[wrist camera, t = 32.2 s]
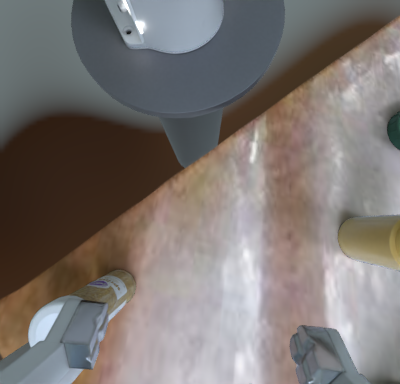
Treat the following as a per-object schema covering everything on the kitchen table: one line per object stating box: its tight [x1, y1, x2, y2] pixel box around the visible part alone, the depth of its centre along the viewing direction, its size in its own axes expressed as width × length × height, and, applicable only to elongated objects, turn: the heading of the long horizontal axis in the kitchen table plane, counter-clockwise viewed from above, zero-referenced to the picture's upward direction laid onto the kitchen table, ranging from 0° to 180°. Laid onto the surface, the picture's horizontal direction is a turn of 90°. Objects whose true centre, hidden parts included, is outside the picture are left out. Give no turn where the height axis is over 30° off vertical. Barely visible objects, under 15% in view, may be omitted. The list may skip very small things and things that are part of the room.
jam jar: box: [338, 215, 400, 272], centre depth 26 cm, size 6×6×11 cm
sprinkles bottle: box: [28, 269, 136, 347], centre depth 25 cm, size 5×5×13 cm
